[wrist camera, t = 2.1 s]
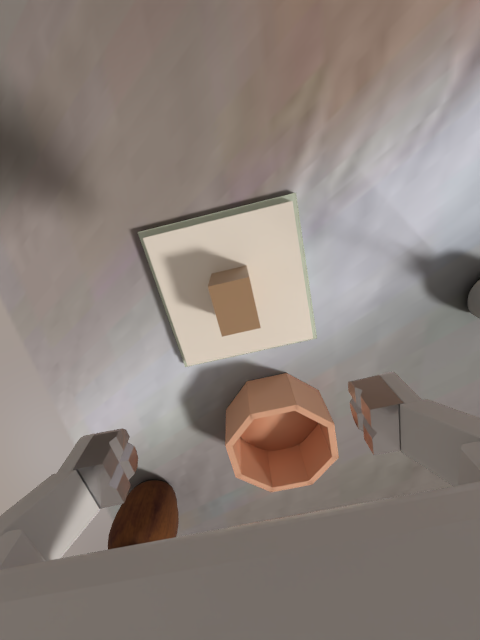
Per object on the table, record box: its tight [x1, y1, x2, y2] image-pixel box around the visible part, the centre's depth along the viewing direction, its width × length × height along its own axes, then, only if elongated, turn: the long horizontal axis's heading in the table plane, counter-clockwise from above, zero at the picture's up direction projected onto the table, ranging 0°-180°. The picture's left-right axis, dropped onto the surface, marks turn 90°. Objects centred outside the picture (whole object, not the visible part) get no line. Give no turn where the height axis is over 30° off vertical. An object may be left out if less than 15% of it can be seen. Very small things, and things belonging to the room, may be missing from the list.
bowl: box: [225, 373, 339, 492], centre depth 29 cm, size 10×10×5 cm
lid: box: [143, 201, 313, 366], centre depth 23 cm, size 12×12×5 cm
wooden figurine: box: [108, 480, 178, 550], centre depth 28 cm, size 7×6×15 cm
